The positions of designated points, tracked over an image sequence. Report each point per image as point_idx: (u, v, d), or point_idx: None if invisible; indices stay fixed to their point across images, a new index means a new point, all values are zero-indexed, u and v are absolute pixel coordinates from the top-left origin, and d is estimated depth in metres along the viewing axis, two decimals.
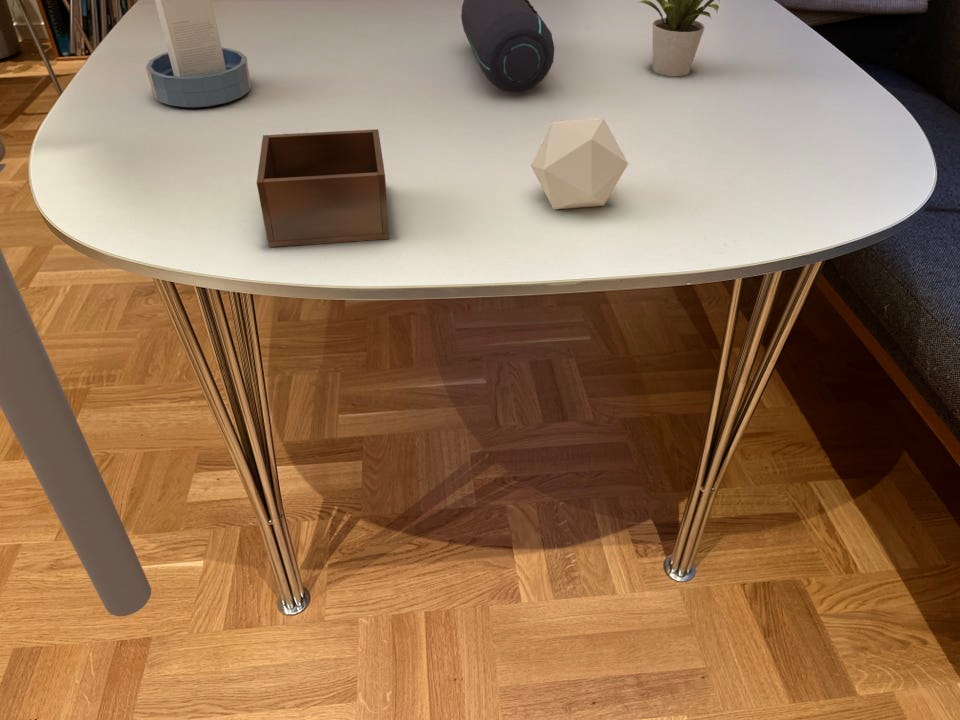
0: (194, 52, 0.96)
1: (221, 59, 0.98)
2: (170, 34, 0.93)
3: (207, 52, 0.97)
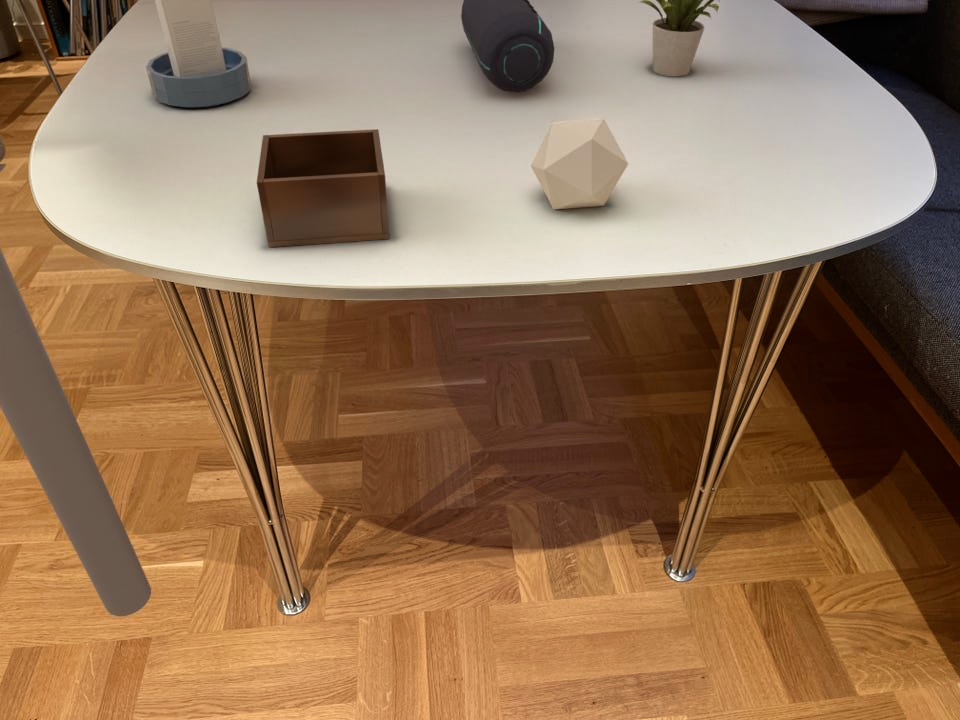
0: (194, 52, 0.96)
1: (221, 59, 0.98)
2: (170, 34, 0.93)
3: (207, 52, 0.97)
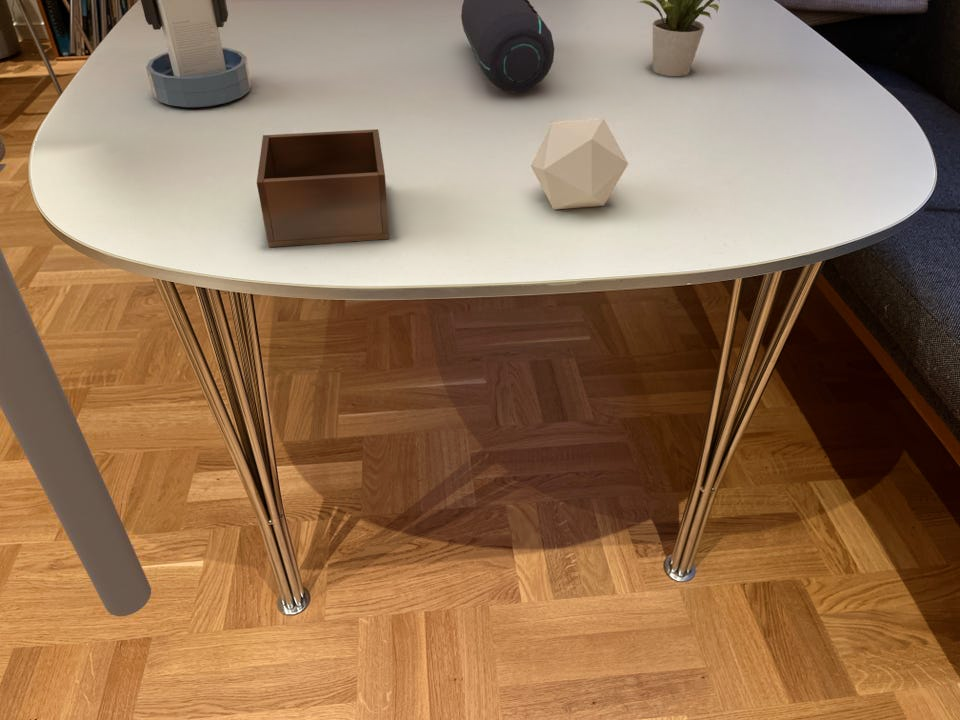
0: (194, 52, 0.96)
1: (221, 59, 0.98)
2: (170, 34, 0.93)
3: (208, 52, 0.97)
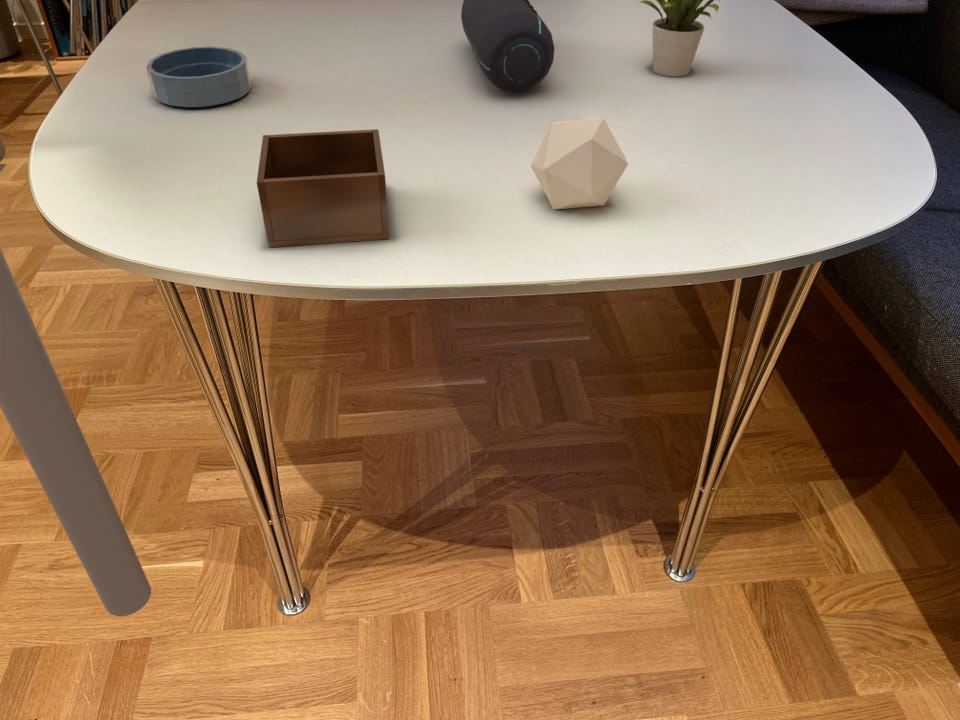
0: None
1: None
2: None
3: None
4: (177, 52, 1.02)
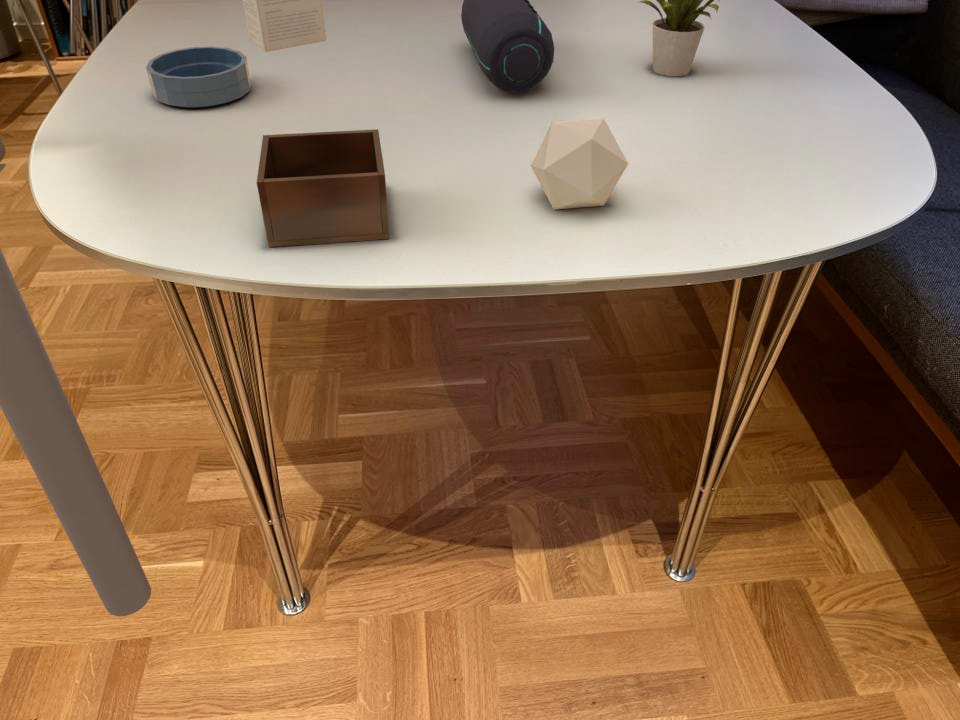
0: None
1: None
2: None
3: None
4: (177, 52, 1.02)
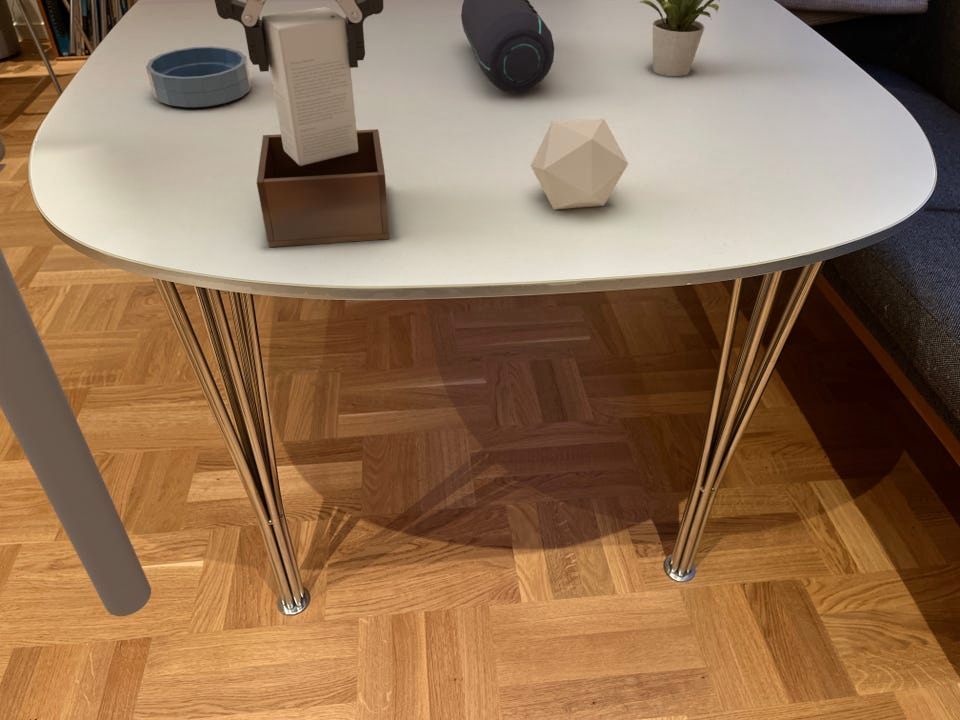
0: (317, 103, 0.67)
1: (351, 112, 0.69)
2: (286, 78, 0.64)
3: (334, 103, 0.67)
4: (177, 52, 1.02)
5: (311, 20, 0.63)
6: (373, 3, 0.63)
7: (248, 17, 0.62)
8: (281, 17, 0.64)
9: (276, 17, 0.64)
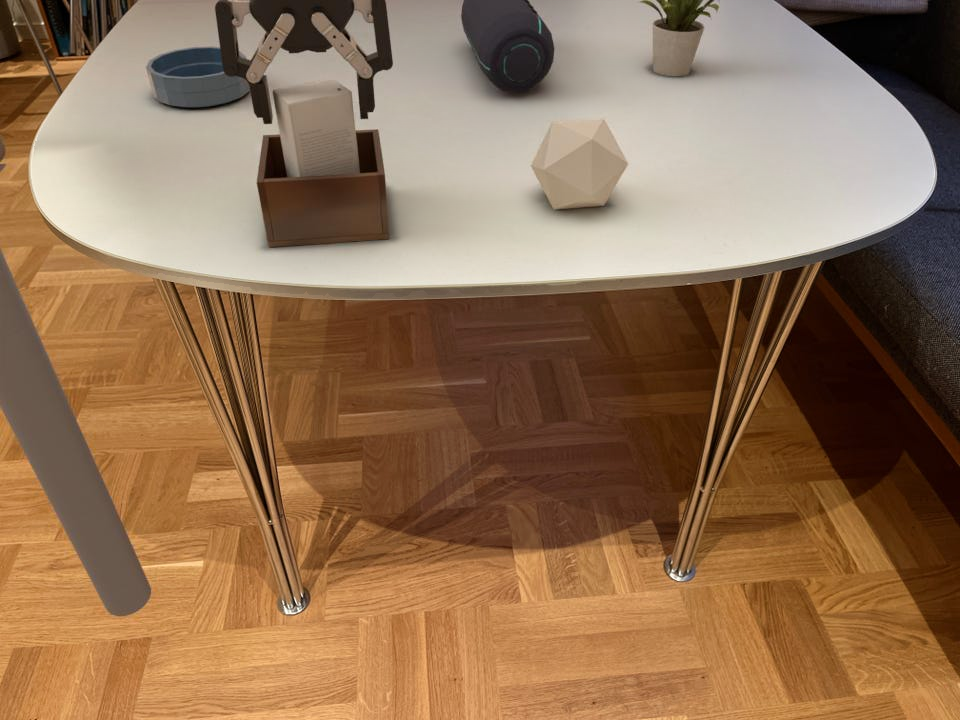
0: (324, 169, 0.70)
1: None
2: (296, 148, 0.68)
3: (341, 167, 0.71)
4: (177, 52, 1.02)
5: (319, 94, 0.67)
6: (383, 60, 0.66)
7: (253, 75, 0.65)
8: (291, 90, 0.68)
9: (286, 91, 0.68)
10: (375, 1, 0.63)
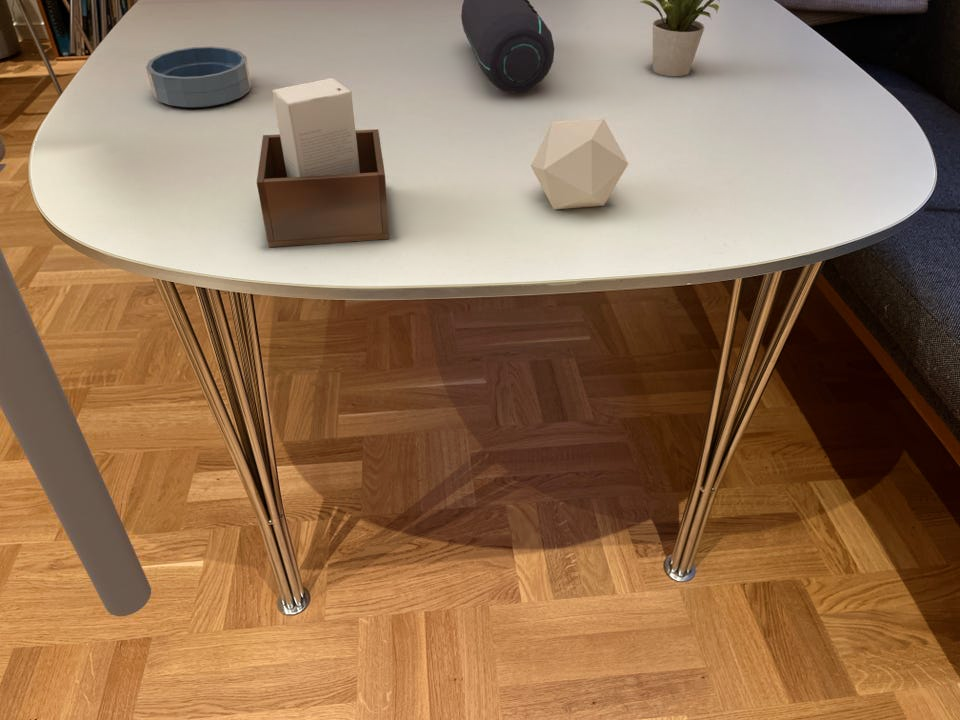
0: (324, 169, 0.70)
1: None
2: (296, 148, 0.68)
3: (340, 167, 0.71)
4: (177, 52, 1.02)
5: (319, 94, 0.67)
6: None
7: None
8: (291, 90, 0.68)
9: (286, 91, 0.68)
10: None
